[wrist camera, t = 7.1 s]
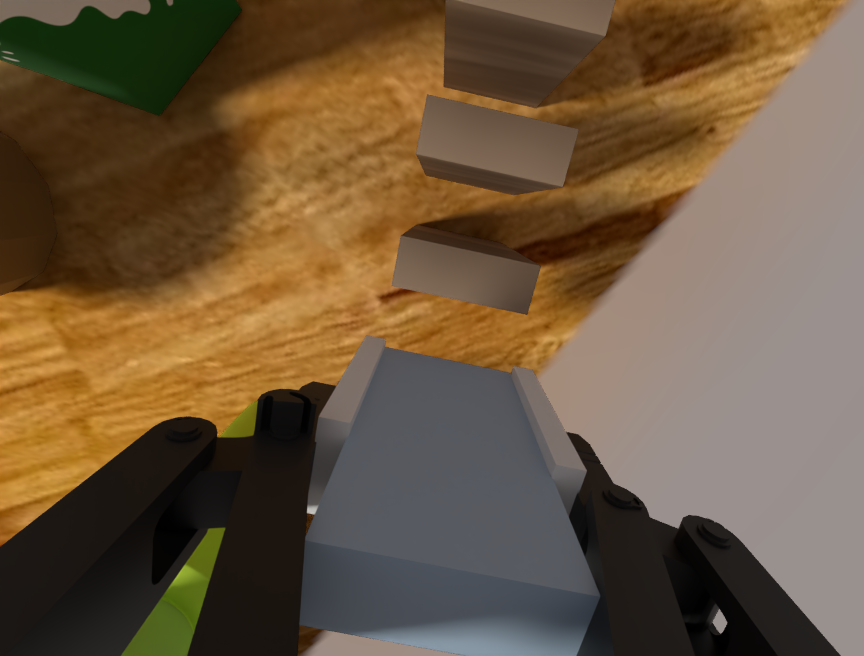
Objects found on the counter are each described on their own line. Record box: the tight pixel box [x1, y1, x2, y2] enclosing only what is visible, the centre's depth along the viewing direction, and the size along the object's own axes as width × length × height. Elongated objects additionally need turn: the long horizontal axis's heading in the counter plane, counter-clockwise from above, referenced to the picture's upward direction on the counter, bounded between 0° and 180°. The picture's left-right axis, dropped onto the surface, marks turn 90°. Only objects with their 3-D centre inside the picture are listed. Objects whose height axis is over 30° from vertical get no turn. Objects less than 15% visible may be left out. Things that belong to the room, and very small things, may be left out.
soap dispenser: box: [121, 400, 258, 656], centre depth 19 cm, size 6×7×20 cm
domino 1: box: [444, 0, 616, 108], centre depth 18 cm, size 2×5×10 cm, turn 78°
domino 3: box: [392, 225, 541, 315], centre depth 20 cm, size 2×5×10 cm, turn 78°
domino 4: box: [299, 347, 600, 656], centre depth 12 cm, size 2×5×10 cm, turn 78°
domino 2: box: [416, 95, 579, 195], centre depth 19 cm, size 2×5×10 cm, turn 78°
